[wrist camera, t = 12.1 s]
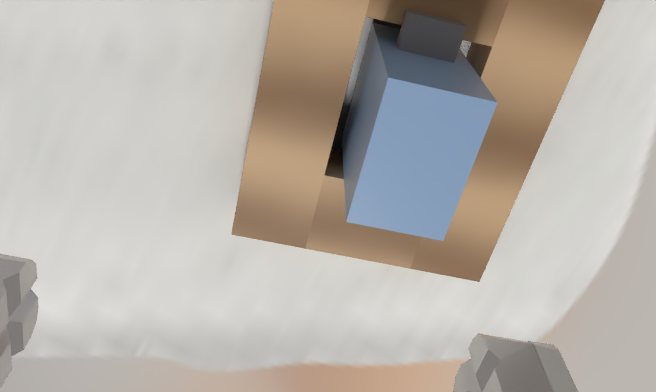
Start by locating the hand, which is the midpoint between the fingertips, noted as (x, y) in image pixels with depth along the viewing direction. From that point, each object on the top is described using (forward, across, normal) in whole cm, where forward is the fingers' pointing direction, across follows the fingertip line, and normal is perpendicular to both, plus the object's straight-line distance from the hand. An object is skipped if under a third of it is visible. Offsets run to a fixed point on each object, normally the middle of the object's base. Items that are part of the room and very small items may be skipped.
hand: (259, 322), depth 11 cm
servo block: (+19, -5, +2) cm, 20 cm away
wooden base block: (+19, -5, +2) cm, 20 cm away
